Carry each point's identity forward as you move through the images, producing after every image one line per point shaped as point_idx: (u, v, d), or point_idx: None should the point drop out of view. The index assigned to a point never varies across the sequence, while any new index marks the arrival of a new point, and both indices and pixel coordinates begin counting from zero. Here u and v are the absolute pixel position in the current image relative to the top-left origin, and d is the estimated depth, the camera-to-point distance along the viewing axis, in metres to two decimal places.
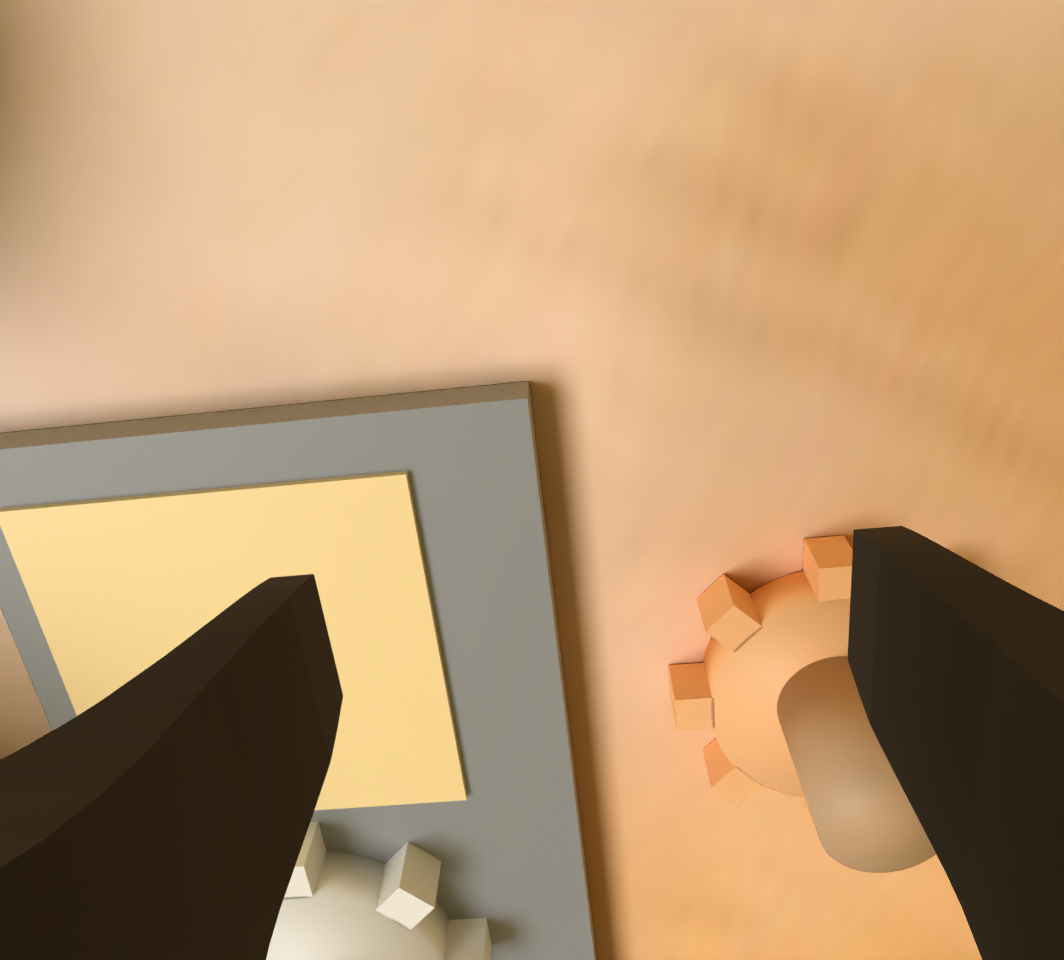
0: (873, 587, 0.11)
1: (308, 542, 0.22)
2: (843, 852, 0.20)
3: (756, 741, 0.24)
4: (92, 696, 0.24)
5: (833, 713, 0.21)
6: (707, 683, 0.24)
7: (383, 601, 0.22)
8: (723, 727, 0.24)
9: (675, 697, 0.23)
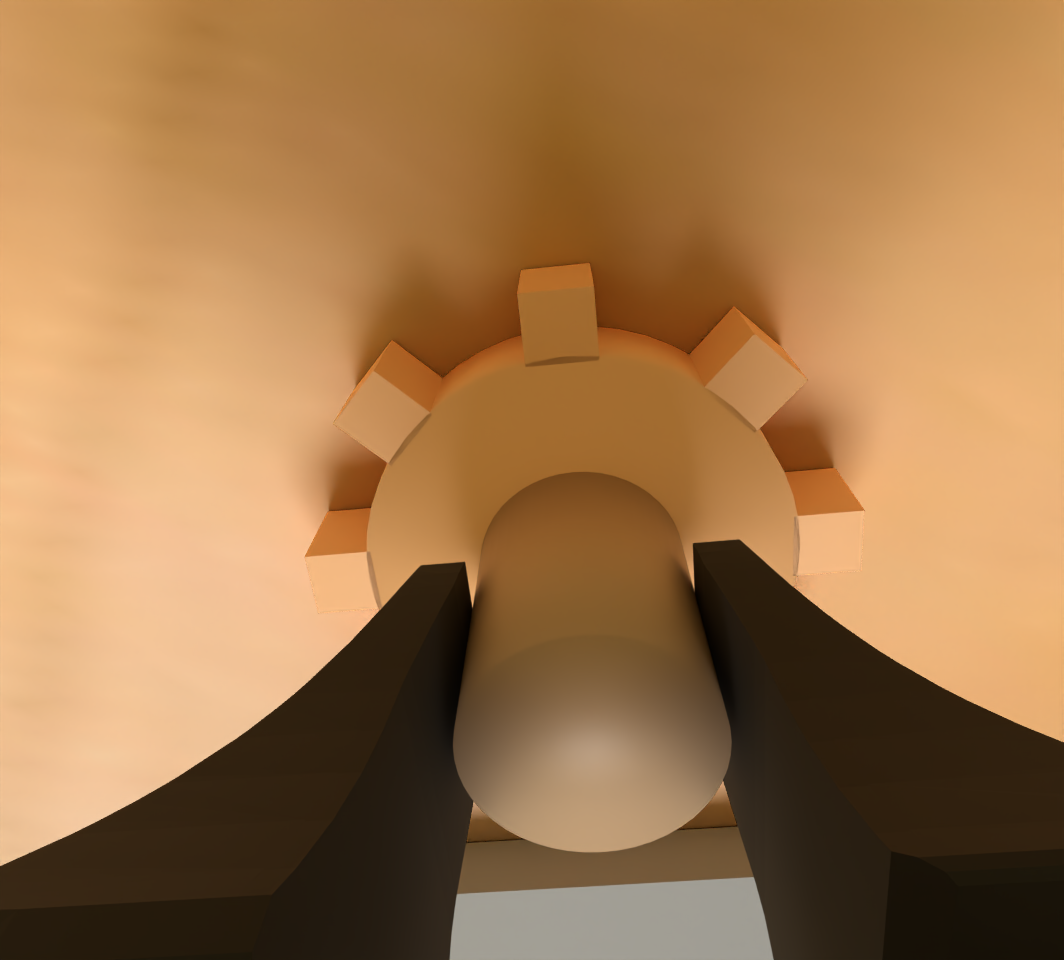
0: (703, 600, 0.11)
1: None
2: (669, 810, 0.10)
3: None
4: None
5: None
6: None
7: None
8: None
9: None
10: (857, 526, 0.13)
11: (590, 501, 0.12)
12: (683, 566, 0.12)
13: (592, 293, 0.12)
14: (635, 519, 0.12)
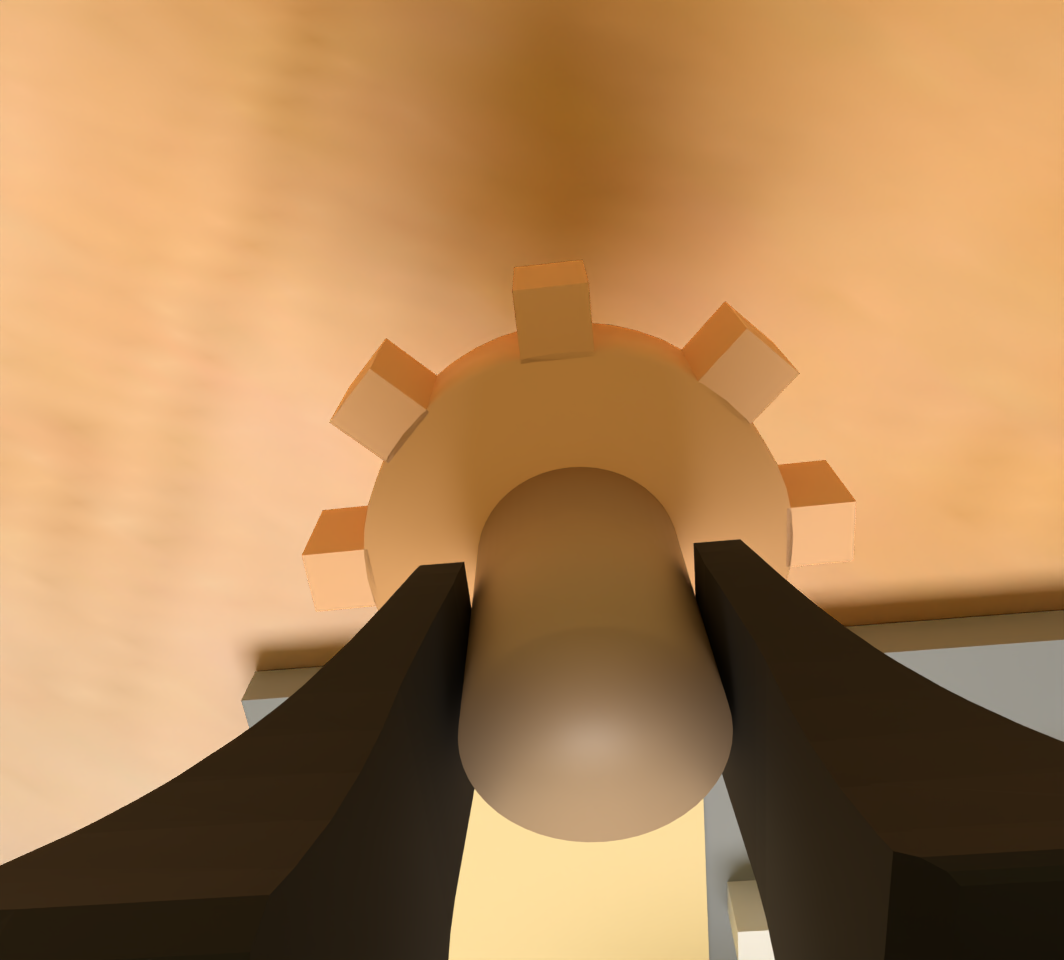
0: (704, 600, 0.11)
1: None
2: (672, 798, 0.10)
3: None
4: None
5: None
6: None
7: None
8: None
9: None
10: (849, 517, 0.13)
11: (586, 495, 0.12)
12: (680, 559, 0.12)
13: (587, 290, 0.12)
14: (632, 513, 0.12)
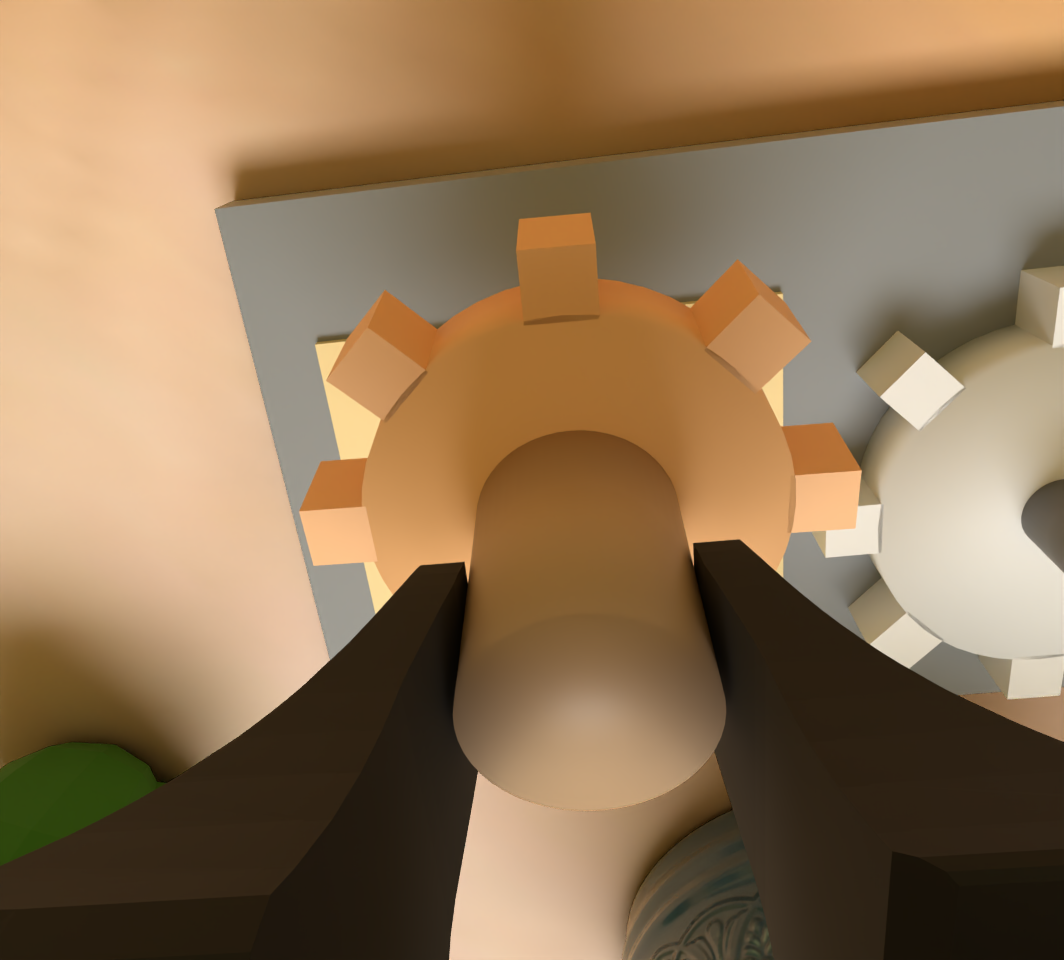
0: (703, 600, 0.11)
1: None
2: (663, 773, 0.10)
3: None
4: None
5: None
6: None
7: None
8: None
9: None
10: (853, 485, 0.13)
11: (588, 464, 0.12)
12: (680, 530, 0.12)
13: (594, 251, 0.11)
14: (633, 483, 0.12)
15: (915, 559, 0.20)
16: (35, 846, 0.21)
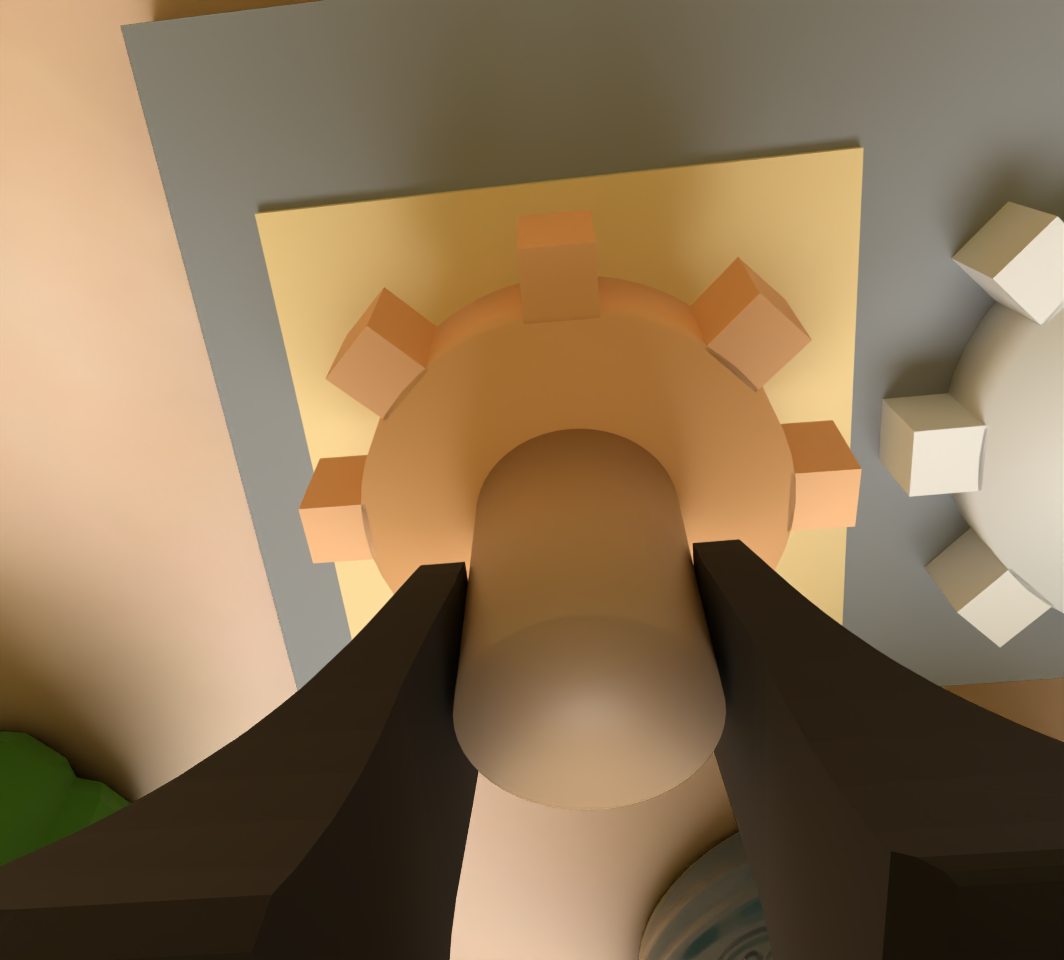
0: (703, 600, 0.11)
1: None
2: (663, 773, 0.10)
3: None
4: None
5: None
6: None
7: (462, 261, 0.15)
8: None
9: None
10: (853, 484, 0.13)
11: (587, 463, 0.12)
12: (680, 529, 0.12)
13: (594, 249, 0.11)
14: (633, 483, 0.12)
15: (1024, 499, 0.15)
16: None
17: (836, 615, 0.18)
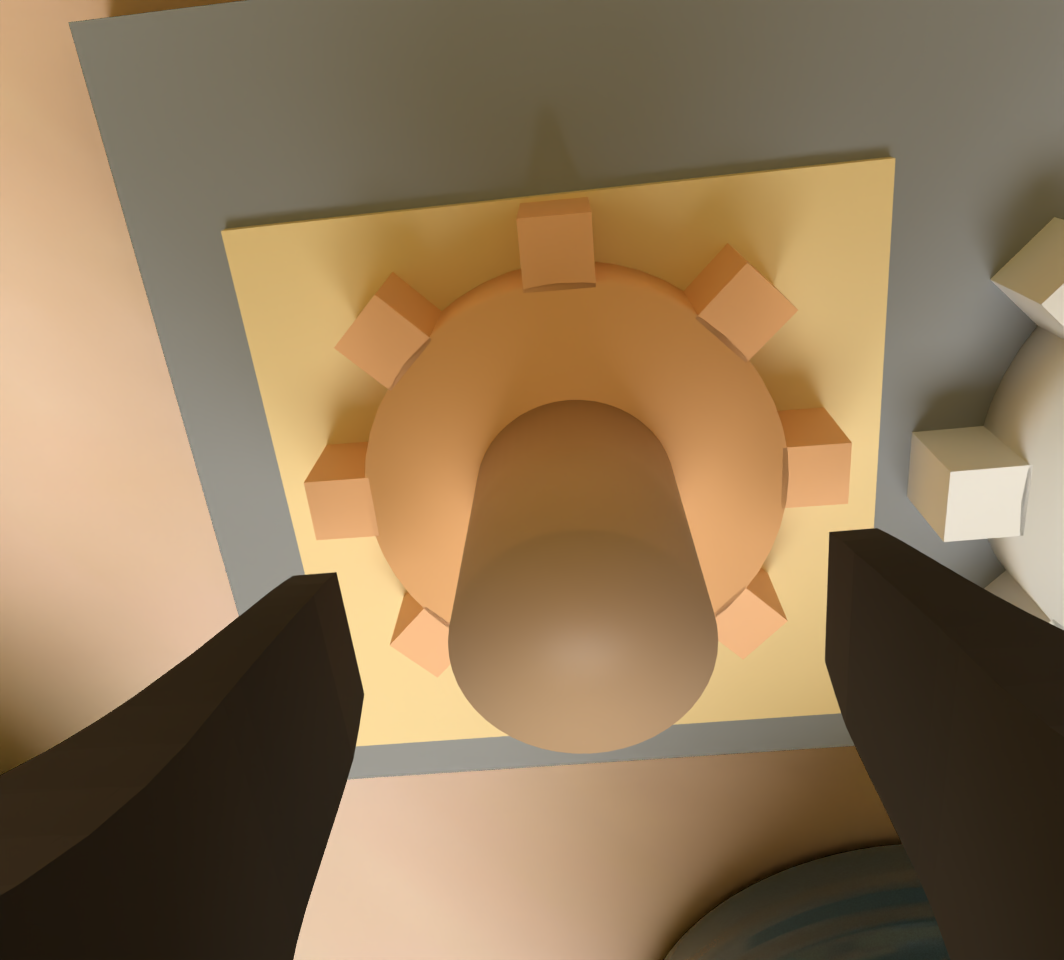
0: (847, 589, 0.11)
1: (354, 387, 0.15)
2: (657, 710, 0.10)
3: None
4: None
5: None
6: None
7: (451, 283, 0.14)
8: None
9: None
10: (845, 459, 0.13)
11: (585, 423, 0.12)
12: (674, 487, 0.12)
13: (590, 219, 0.12)
14: (628, 440, 0.12)
15: None
16: None
17: None
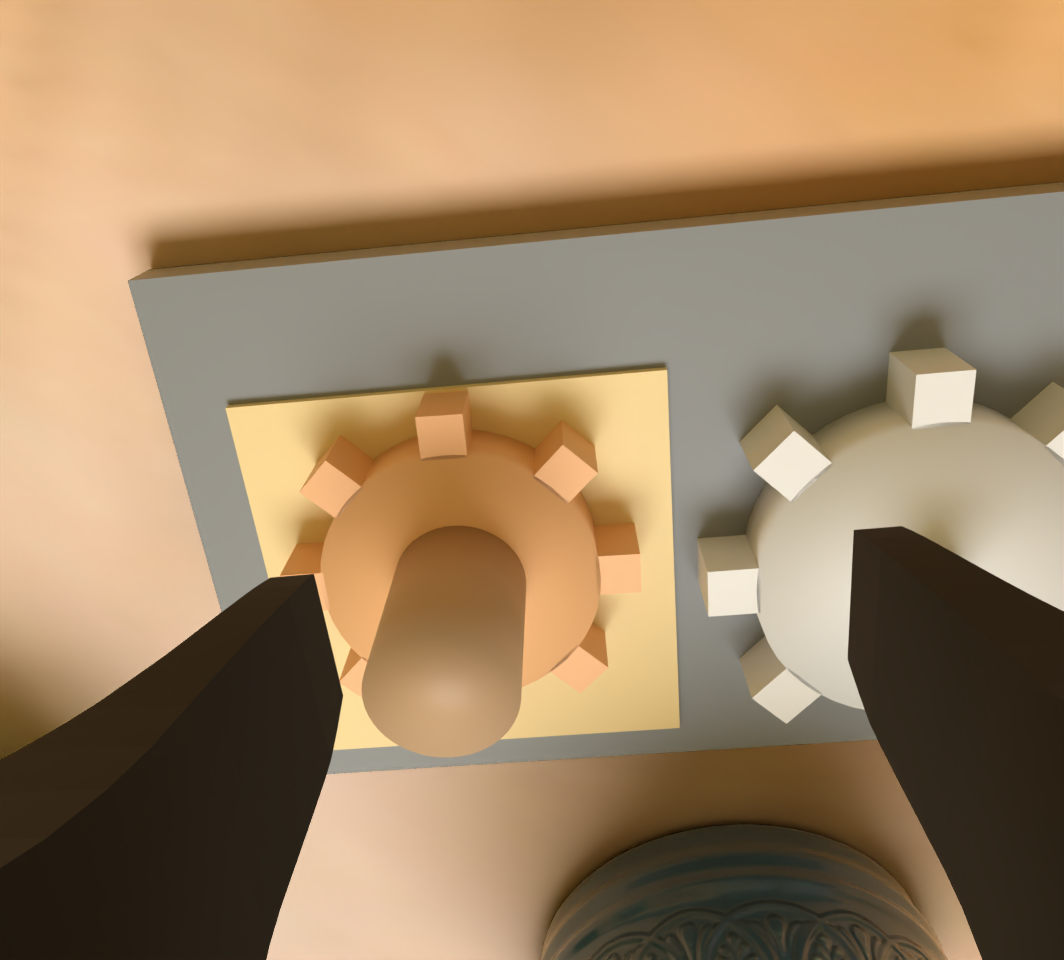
0: (873, 587, 0.11)
1: (315, 507, 0.21)
2: (488, 731, 0.17)
3: None
4: None
5: None
6: None
7: (379, 442, 0.21)
8: None
9: None
10: (636, 563, 0.20)
11: (458, 546, 0.19)
12: (514, 588, 0.19)
13: (461, 418, 0.19)
14: (484, 558, 0.19)
15: (792, 619, 0.21)
16: None
17: (673, 694, 0.24)
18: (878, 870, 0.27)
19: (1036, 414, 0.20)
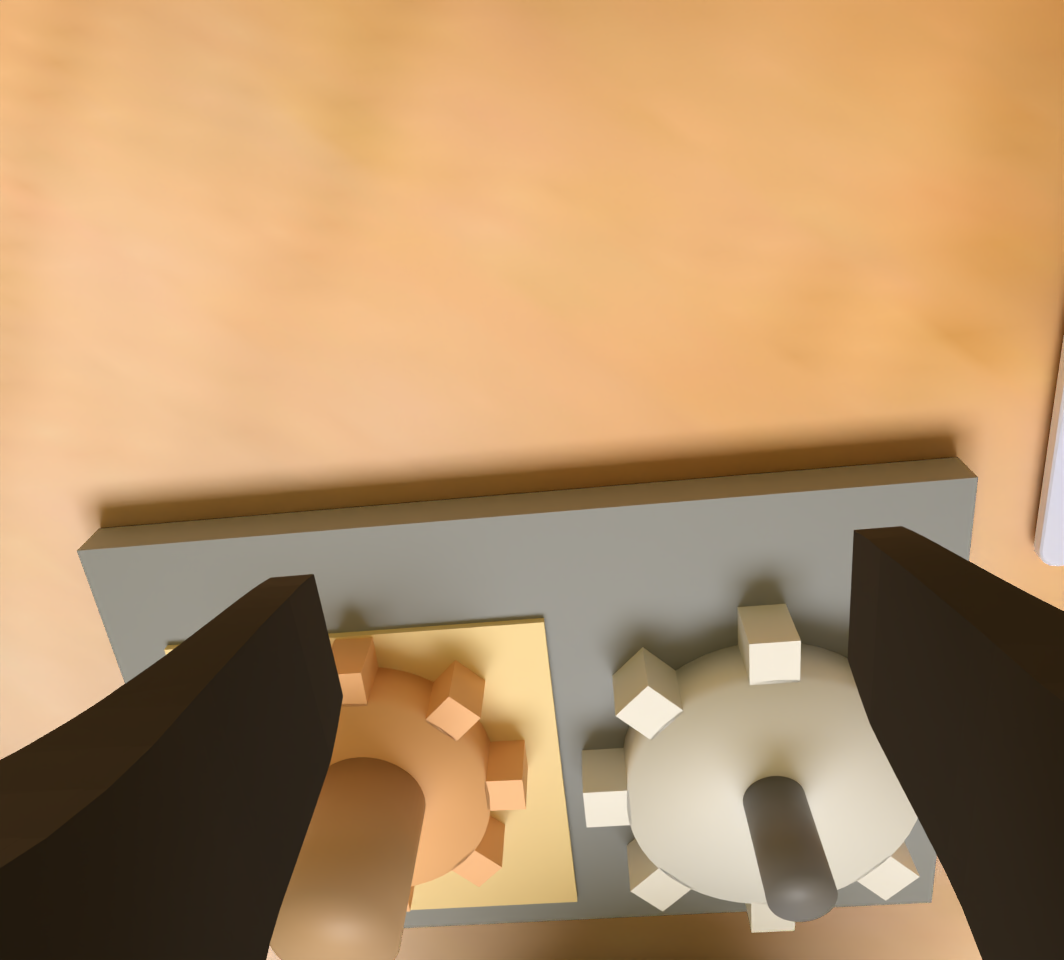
0: (873, 587, 0.11)
1: None
2: None
3: (418, 856, 0.24)
4: (428, 894, 0.27)
5: None
6: None
7: None
8: None
9: None
10: (520, 787, 0.23)
11: (359, 784, 0.22)
12: (407, 821, 0.22)
13: (360, 677, 0.22)
14: (381, 797, 0.22)
15: (660, 830, 0.24)
16: None
17: (569, 875, 0.26)
18: None
19: None
